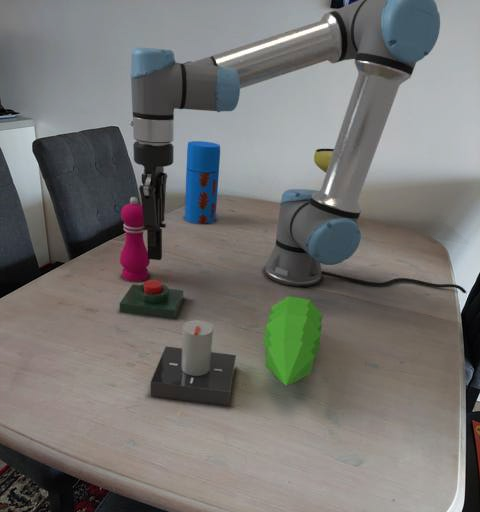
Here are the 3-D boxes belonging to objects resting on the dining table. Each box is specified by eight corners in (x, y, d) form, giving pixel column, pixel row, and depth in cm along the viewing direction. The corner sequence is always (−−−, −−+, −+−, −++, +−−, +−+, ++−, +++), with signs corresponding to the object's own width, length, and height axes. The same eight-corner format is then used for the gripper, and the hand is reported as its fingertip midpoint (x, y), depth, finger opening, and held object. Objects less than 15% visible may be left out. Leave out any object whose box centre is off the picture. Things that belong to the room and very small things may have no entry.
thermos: (184, 213, 168) (187, 140, 156) (214, 215, 169) (219, 142, 157) (184, 223, 159) (187, 145, 147) (215, 225, 160) (221, 148, 148)
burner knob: (183, 357, 83) (185, 316, 79) (211, 360, 83) (215, 320, 79) (178, 374, 79) (180, 331, 75) (208, 377, 79) (211, 335, 75)
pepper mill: (143, 284, 114) (142, 203, 105) (115, 279, 115) (112, 198, 106) (153, 273, 121) (154, 195, 111) (127, 268, 122) (125, 191, 112)
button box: (183, 298, 110) (183, 283, 108) (174, 319, 101) (175, 302, 99) (132, 292, 110) (132, 277, 108) (119, 312, 101) (119, 295, 99)
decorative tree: (317, 278, 97) (312, 348, 70) (328, 327, 101) (328, 411, 74) (264, 289, 100) (240, 361, 73) (277, 336, 104) (259, 420, 77)
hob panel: (234, 368, 87) (236, 354, 85) (228, 406, 77) (229, 391, 76) (165, 359, 87) (165, 345, 86) (150, 396, 78) (150, 380, 76)
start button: (163, 288, 105) (163, 281, 105) (159, 295, 102) (159, 288, 101) (146, 286, 106) (146, 279, 105) (141, 293, 102) (141, 286, 101)
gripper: (143, 135, 94) (145, 246, 106) (123, 145, 83) (128, 268, 95) (179, 138, 94) (178, 249, 106) (165, 149, 83) (165, 272, 94)
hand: (154, 258), depth 100 cm, fingers closed
